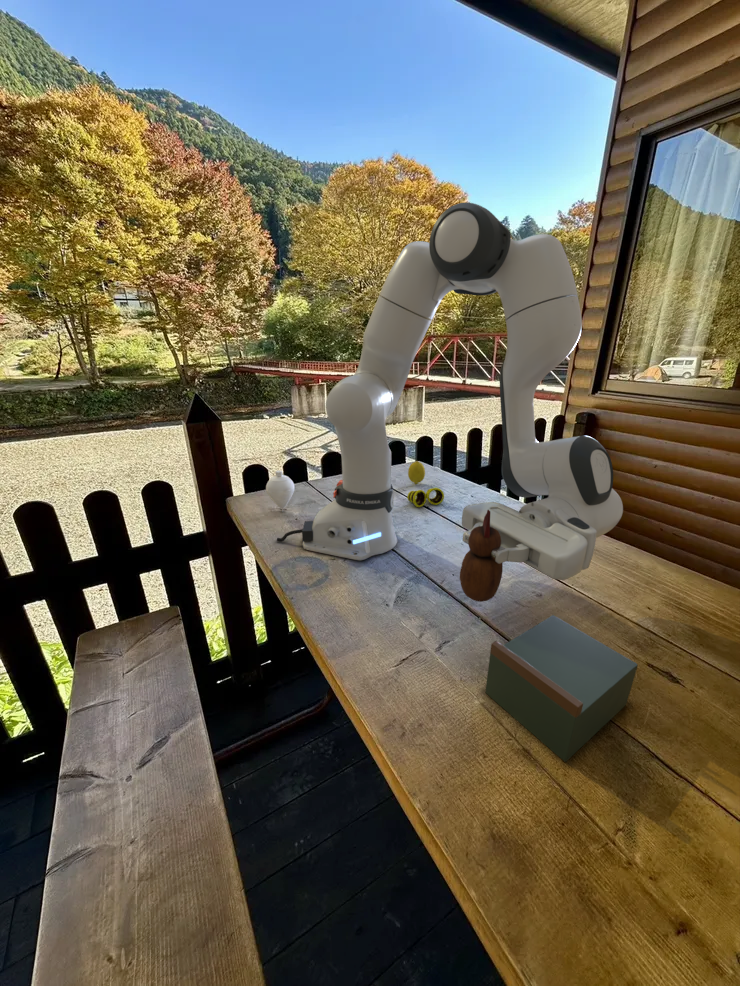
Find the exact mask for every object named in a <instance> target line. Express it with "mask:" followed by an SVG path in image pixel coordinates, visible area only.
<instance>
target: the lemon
mask: <svg viewBox="0 0 740 986" xmlns="http://www.w3.org/2000/svg"><path fill="white" fill-rule="evenodd" d="M407 470H408V471H407V476H408V480H410V481H411V482H412V483H413V484H415V485H418V484H419V483H422V482H423V481H424V478H425V477H426V468H425V465H424V464H423V463H421V461H418V460H416V461H414V462H412V463H410V465H409V466H408V469H407Z"/></svg>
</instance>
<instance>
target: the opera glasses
mask: <svg viewBox="0 0 740 986" xmlns="http://www.w3.org/2000/svg"><path fill="white" fill-rule="evenodd" d="M432 492H435V496H434V497H433V498H431V497H430V494H431V493H432ZM444 499H445V492H444V491H443V490H442V489H440V488H439V487H432V488H429V489H427V490H426V491H424V490H423V489H417V490H411V491H409V492H408V494H407V501H408V502H409V503H412V504H413V505H414V506H415V507H417V508H421V507H423V506H424V505H426V502H427V501H428V503H429V504H431V505H434V506H437V505H440V504H442V503H443V502H444Z"/></svg>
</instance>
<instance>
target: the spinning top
mask: <svg viewBox="0 0 740 986" xmlns="http://www.w3.org/2000/svg"><path fill="white" fill-rule="evenodd" d="M274 472H275V475H273V476H271V477H270V478H269V480H268V481H267V483H266V485H265V490H266V494H267V495H268V497H269V498H270V499H271V501H272V502H273V503H274V504H275V505H276V507H278V508H279V509H280V510H281V512H284V509H285V507H286V506H287V505H288V503H289V502H290V501H291V499H292V497H293V495H294V492H295V483H294V481H293V480H292V479H291V478H290V477H289V476H288V475H285V474H283V470H280V469H278V470H275V471H274Z"/></svg>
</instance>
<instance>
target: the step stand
mask: <svg viewBox="0 0 740 986" xmlns="http://www.w3.org/2000/svg"><path fill="white" fill-rule="evenodd" d="M489 652H490V653H489V659H488V666H487V667H488V669H487V676H486V683H485V694H486V695H487V696H489V698H490V699H492V700H493V701H494V702H495V703H496V704H497V705H499V706H500V707H501V708H502V709H504V710H505V711H506V712H507V713H508V714H509V715H510V716H511V717H513V719H515V720H516V721H517V722H518V723H519V724H520V725H521V726H522V727H524V728H525V729H526V730H527V731H529V732H530V733H531V734H532V735H533V736H534V737H536V738H537V739H538V740H539V741H540V742H541V743H542V744H544V746H546V747H547V748H548V749H550V750H551V752H553V753H554V754H555V755H556V756H558V758H559V759H561V760H562V761H563V762H565V763H567V761H568V760H569V759H571V758H572V756H574V755H575V754H576V753H577V752H578V751H579V750H581V748H582V747H584V745H586V743H587V742H589V741H590V740H591V739H592V738H593V737H594V736H595V735H596V734H597V733H598V732H599V731H601V729H603V727H604V726H606V725H607V724H608V723H609V722H610V721H611V720H612V719H613V718H614V717H615V716H616V715H617V714H618V713H620V711H622V710H623V709H624V708H625V707H626V706H627V704H628V699H629V697H630V693H631V690H632V687H633V683H634V680H635V676H636V673H637V670H638V666H639V664H638V663H636V662H635V661H633V660H631V659H630V658H628V657H626V656H624V655H623V654H622V653H620V652H618V651H616V650H615V649H612V648H611V647H609V646H608V645H607V644H606V645H605V644H604V643H603V642H601V641H599V640H597V639H595V638H594V637H592V636H590V635H588V634H587V633H586V632H583V631H582V630H580V629H578V628H577V627H575V626H573V625H571V624H570V623H568V622H566V621H564V620H563V619H561V618H560V617H558V616H556V615H554V614H552V615H550V616H548V617H547V618H545V619H544V620H542V621H540V622H539V623H537V624H536V625H534V626H532V627H531V628H529V629H527V630H525V631H524V632H523V633H521V634H518V635H517V636H516V637H514V638H512V639H511V640H509V641H508V642H506V643H504V644H502V643H500V642H499V641H498V640H494V641H493V642H491V643H490V651H489Z"/></svg>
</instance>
